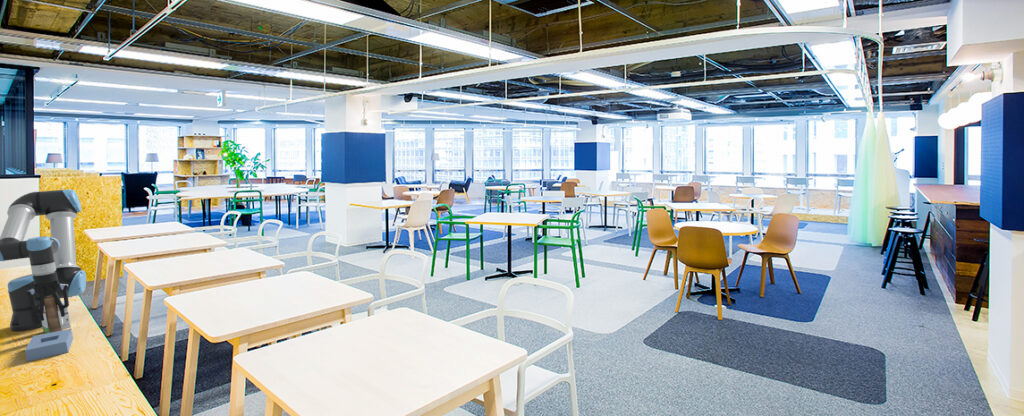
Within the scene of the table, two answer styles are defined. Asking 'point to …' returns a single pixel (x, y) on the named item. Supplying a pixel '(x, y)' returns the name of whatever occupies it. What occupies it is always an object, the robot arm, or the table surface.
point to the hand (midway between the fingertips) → (54, 325)
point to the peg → (52, 314)
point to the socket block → (49, 344)
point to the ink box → (65, 320)
